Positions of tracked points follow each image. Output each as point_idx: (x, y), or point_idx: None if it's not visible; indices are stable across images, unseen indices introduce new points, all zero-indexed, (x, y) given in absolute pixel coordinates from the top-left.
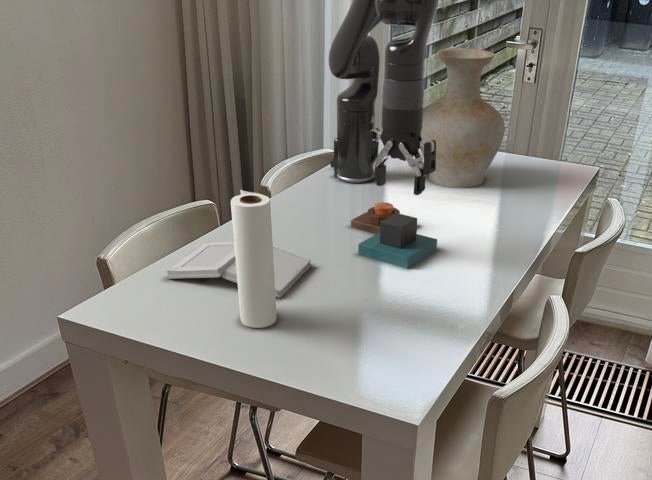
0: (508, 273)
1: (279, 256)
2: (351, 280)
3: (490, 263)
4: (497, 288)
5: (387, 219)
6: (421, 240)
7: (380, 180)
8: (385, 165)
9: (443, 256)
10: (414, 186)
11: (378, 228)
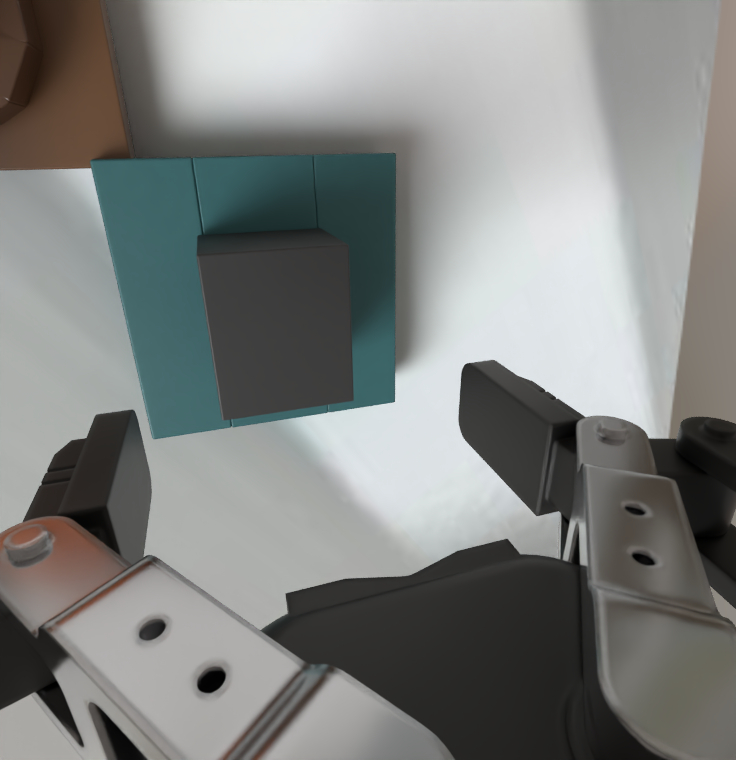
0: (667, 177)
1: (31, 703)
2: (288, 553)
3: (599, 134)
4: (656, 303)
5: (233, 375)
6: (345, 219)
7: (144, 502)
8: (107, 514)
9: (430, 194)
10: (492, 464)
11: (18, 169)
